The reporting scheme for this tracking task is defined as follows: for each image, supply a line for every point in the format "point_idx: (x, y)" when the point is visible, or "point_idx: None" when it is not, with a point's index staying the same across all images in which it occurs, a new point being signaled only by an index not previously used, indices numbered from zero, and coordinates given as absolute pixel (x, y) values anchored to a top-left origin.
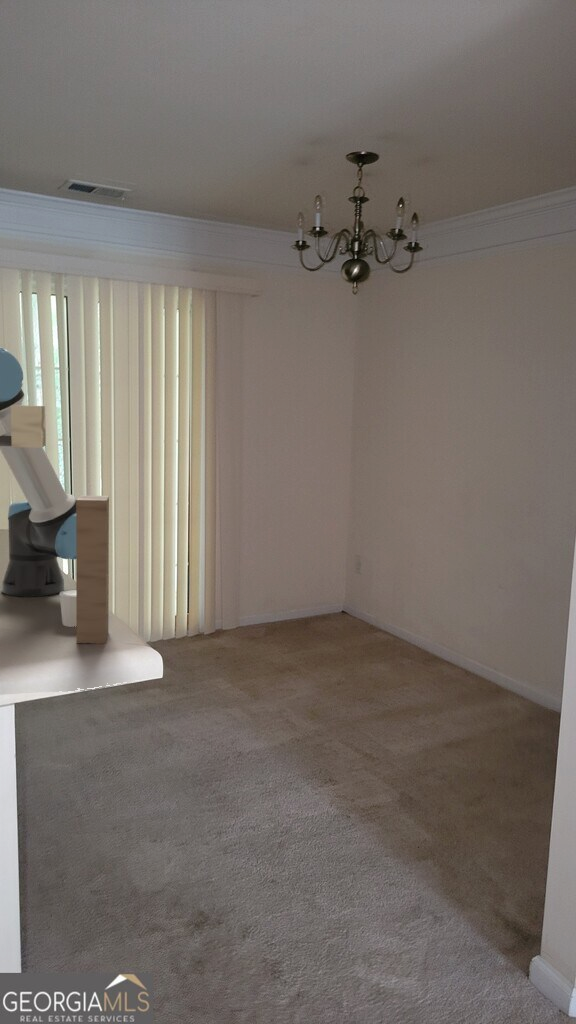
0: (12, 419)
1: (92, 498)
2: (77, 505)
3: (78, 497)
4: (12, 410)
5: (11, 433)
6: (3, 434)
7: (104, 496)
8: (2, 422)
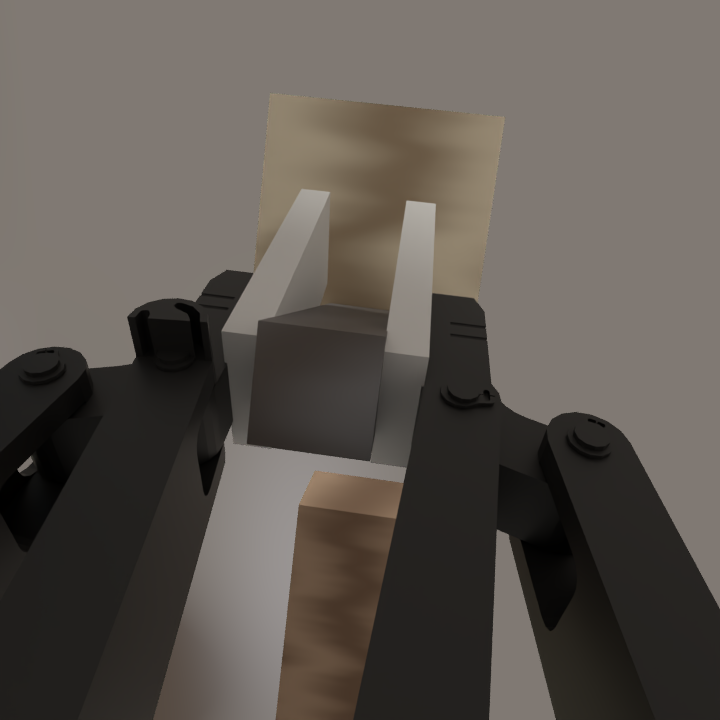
0: (489, 213)
1: (389, 498)
2: None
3: (364, 513)
4: (497, 154)
5: (477, 301)
6: (321, 299)
7: (331, 477)
8: (329, 209)
